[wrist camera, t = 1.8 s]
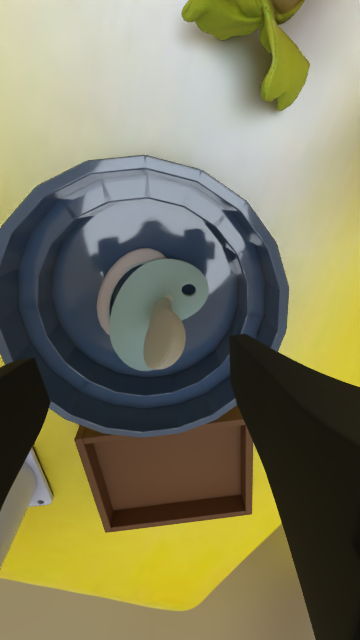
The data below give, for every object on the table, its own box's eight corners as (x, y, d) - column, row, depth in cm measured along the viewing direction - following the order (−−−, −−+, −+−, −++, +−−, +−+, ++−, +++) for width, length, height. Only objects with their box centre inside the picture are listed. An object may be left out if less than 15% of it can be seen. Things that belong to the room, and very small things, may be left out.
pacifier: (83, 325, 18) (162, 361, 20) (42, 378, 12) (158, 425, 14) (130, 224, 16) (216, 273, 17) (107, 232, 10) (239, 305, 11)
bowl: (63, 401, 21) (39, 450, 17) (-8, 184, 15) (-74, 176, 11) (257, 379, 21) (280, 421, 17) (262, 157, 15) (299, 139, 11)
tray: (109, 509, 26) (105, 533, 24) (81, 419, 22) (73, 439, 20) (245, 492, 26) (252, 514, 24) (246, 400, 22) (253, 418, 20)
